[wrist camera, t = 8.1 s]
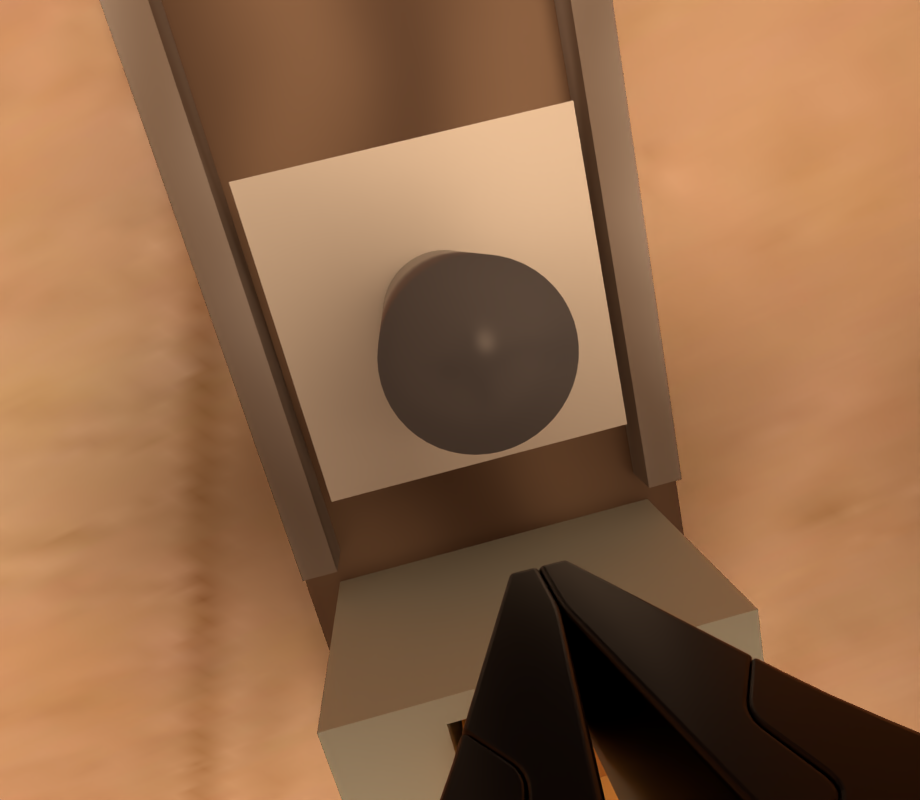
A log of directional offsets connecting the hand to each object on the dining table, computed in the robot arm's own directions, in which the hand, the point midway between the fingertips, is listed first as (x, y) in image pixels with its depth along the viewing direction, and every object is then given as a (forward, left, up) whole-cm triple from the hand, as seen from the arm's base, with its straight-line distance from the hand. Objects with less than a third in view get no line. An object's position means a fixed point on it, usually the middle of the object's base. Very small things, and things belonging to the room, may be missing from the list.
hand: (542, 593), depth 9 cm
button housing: (0, +7, -9) cm, 12 cm away
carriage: (0, -3, -9) cm, 10 cm away
